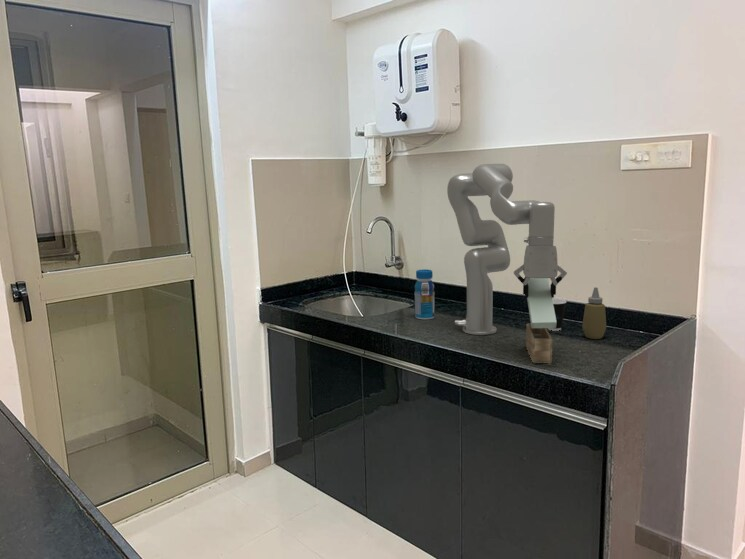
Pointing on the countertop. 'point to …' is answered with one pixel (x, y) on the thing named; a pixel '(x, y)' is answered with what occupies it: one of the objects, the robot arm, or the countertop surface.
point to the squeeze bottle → (594, 317)
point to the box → (539, 344)
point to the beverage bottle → (424, 295)
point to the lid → (540, 304)
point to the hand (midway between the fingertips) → (539, 296)
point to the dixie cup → (558, 313)
